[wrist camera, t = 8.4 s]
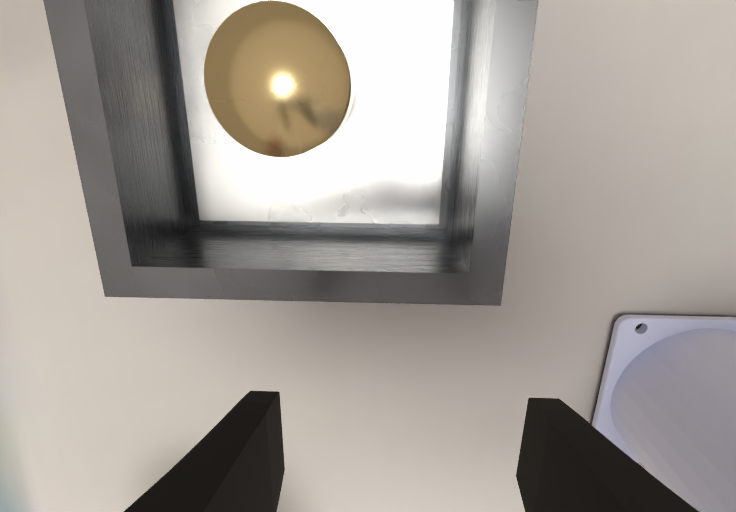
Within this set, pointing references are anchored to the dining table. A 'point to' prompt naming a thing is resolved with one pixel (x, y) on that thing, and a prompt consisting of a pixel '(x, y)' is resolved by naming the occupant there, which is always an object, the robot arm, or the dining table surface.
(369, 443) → the dining table surface
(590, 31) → the dining table surface
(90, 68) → the press housing
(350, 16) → the plunger
